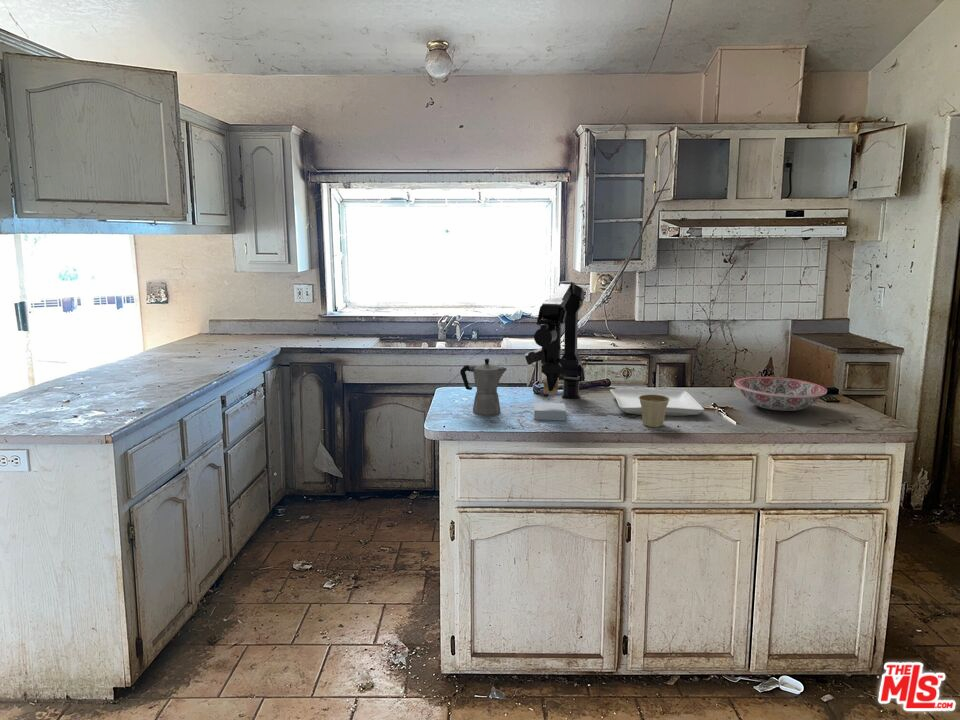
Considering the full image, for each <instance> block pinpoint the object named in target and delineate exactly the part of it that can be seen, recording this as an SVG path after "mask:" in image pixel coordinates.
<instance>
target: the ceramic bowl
mask: <svg viewBox="0 0 960 720" xmlns="http://www.w3.org/2000/svg"><path fill="white" fill-rule="evenodd" d="M734 386H735V387H736V388H737V389H739V390H740V392H741V394H742V396H743V397H744V398H745V399H747V401H748V402H750V403H751V404H753V405H755V406H757V407H759V408H763V409H767V410H770V411H771V410H772V411H782V412H789V411H790V412H793V411H799V410H804V409H806V408H809V407H810V406H812V405H813V404H814V403H815V402H817V401H818V400H819V398H820V397H821V396H824V395H826V394H827V392H828V389H827V388H826V387H824V386H823V385H821V384H817V383H815V382H811V381H806V380H802V379H801V380H800V379H796V378H789V377H776V376H747V377H742V378H738V379H735V380H734Z"/></svg>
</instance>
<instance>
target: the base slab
mask: <svg viewBox="0 0 960 720" xmlns="http://www.w3.org/2000/svg"><path fill="white" fill-rule="evenodd" d="M566 409H567V408H566V403H563V402H560V403H559V402H558V403H557V402H534V411H533V413H534V415H533V416H534V417H533V420H536V421H537V420H539V421H542V420H544V421H545V420H546V421H567V419H566V417H567V410H566Z"/></svg>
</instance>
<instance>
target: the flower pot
mask: <svg viewBox="0 0 960 720" xmlns="http://www.w3.org/2000/svg"><path fill="white" fill-rule="evenodd" d="M639 399H640V403H641V409H642V415H641V418H642V425H644V426H647V427H650V428H660V427H664V422H665V417H666V415H665V413H666V408H667V405H668V401H670V398H668V397H666V396H662V395H651V394H650V395H641V396H639Z"/></svg>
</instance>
